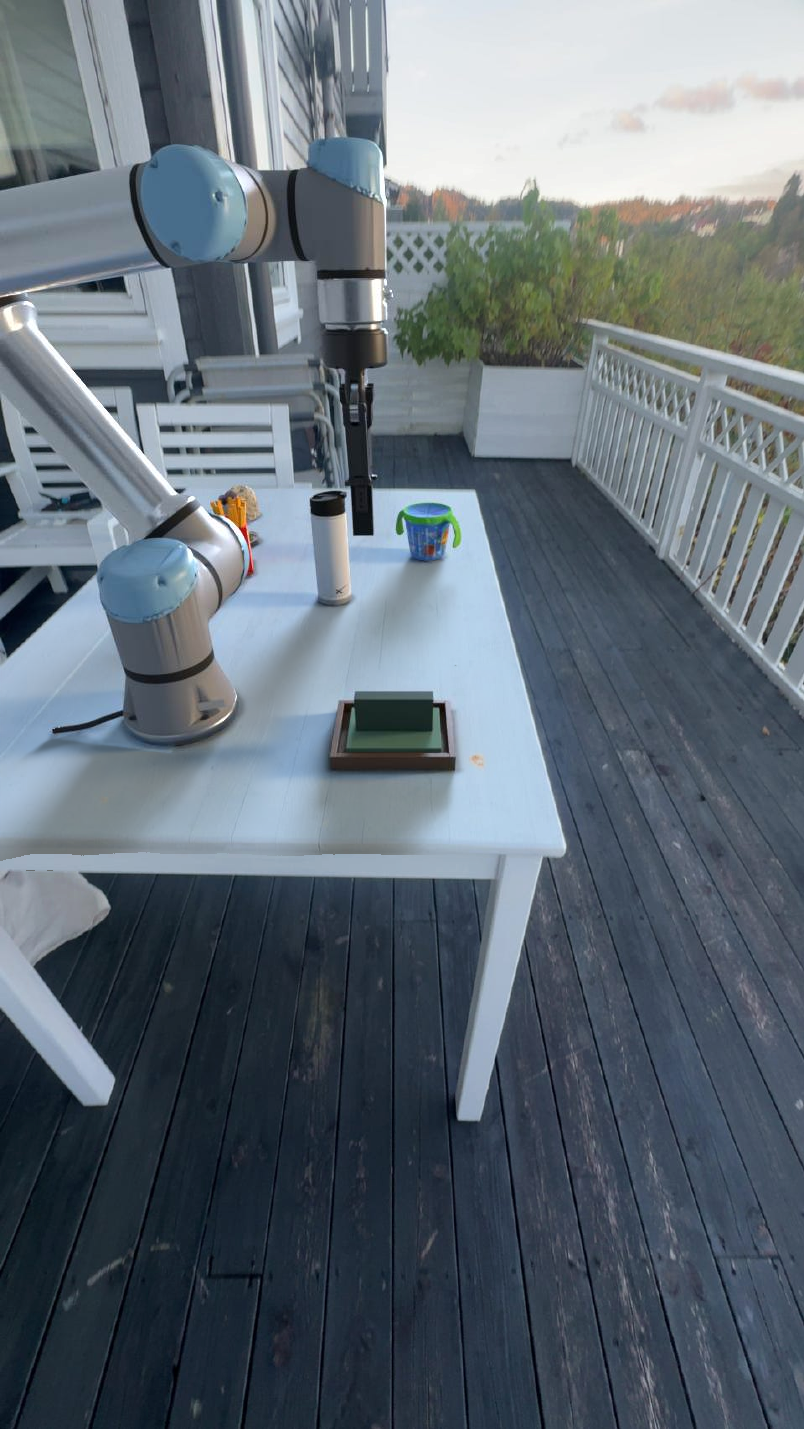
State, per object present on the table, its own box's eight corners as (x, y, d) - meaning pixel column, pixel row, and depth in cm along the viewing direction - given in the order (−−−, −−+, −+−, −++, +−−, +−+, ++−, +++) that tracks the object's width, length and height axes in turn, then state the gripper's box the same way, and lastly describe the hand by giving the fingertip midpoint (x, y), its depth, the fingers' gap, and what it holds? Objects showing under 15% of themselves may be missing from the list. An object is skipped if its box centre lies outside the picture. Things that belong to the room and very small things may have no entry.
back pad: (346, 757, 79) (343, 715, 76) (352, 716, 87) (349, 676, 83) (441, 757, 79) (442, 715, 75) (438, 716, 86) (439, 676, 83)
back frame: (330, 770, 78) (329, 757, 77) (339, 712, 89) (338, 700, 87) (455, 770, 78) (455, 756, 77) (449, 712, 88) (450, 699, 87)
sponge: (261, 533, 162) (272, 495, 161) (236, 520, 153) (248, 480, 152) (235, 527, 166) (246, 490, 165) (209, 514, 157) (220, 475, 156)
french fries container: (255, 559, 136) (245, 494, 128) (256, 575, 129) (246, 507, 121) (222, 562, 135) (210, 496, 127) (221, 579, 128) (208, 510, 120)
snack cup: (384, 554, 138) (383, 507, 132) (416, 541, 145) (416, 496, 139) (439, 572, 130) (440, 523, 124) (470, 557, 136) (472, 511, 130)
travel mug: (348, 607, 116) (340, 498, 105) (314, 604, 117) (303, 496, 106) (356, 593, 121) (350, 488, 110) (324, 591, 122) (314, 486, 111)
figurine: (224, 551, 141) (215, 496, 134) (220, 538, 147) (211, 486, 140) (262, 546, 143) (254, 492, 136) (256, 534, 149) (249, 482, 142)
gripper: (385, 330, 64) (390, 551, 78) (389, 322, 75) (392, 518, 89) (313, 331, 65) (330, 551, 78) (327, 323, 75) (340, 518, 89)
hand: (363, 533), depth 83 cm, fingers closed
